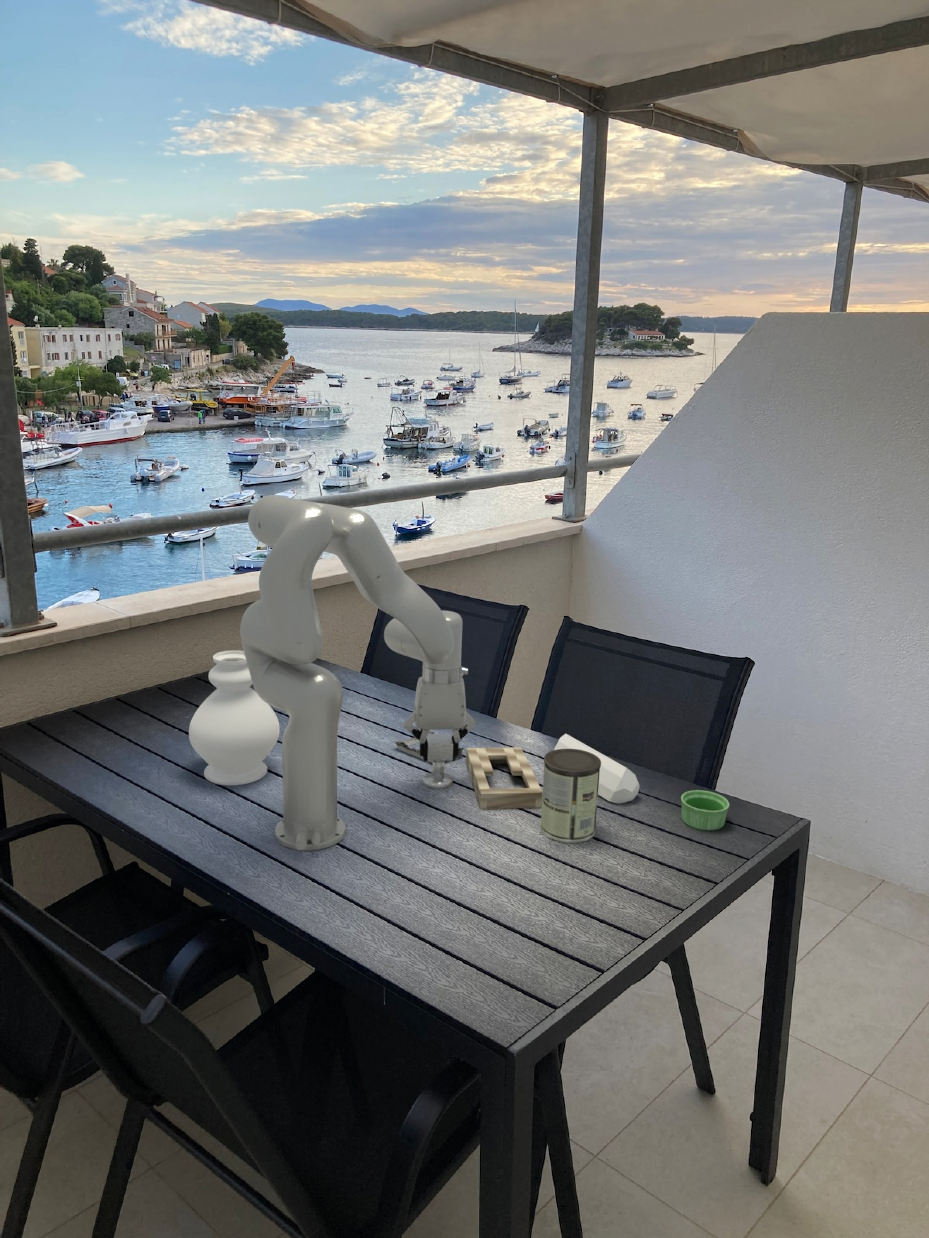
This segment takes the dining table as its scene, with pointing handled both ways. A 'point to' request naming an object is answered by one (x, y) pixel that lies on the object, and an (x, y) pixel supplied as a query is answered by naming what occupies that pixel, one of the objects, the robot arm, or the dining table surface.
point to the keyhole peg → (439, 761)
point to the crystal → (607, 773)
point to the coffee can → (570, 795)
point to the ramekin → (704, 809)
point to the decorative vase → (233, 724)
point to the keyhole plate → (518, 764)
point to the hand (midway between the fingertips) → (438, 757)
